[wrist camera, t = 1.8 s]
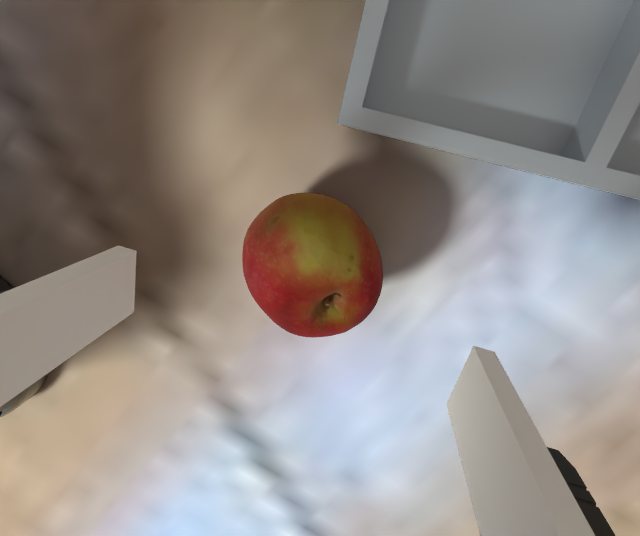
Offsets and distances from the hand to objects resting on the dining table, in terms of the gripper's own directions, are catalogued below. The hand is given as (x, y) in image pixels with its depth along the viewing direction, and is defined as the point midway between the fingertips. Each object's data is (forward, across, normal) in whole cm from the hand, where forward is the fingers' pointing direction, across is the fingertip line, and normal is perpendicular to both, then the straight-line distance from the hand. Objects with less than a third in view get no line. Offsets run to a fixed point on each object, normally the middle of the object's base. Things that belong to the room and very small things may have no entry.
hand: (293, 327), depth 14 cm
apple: (+11, 0, 0) cm, 11 cm away
